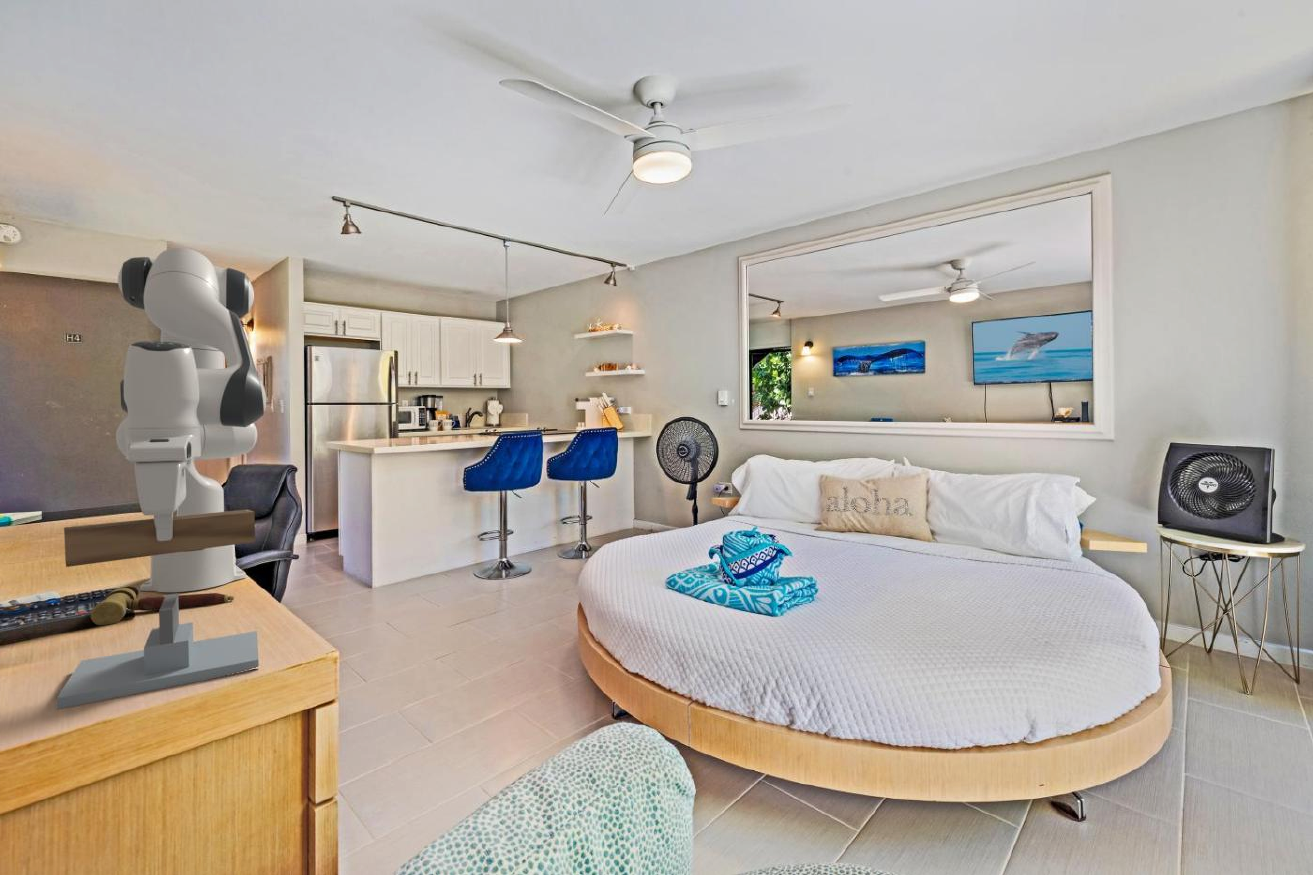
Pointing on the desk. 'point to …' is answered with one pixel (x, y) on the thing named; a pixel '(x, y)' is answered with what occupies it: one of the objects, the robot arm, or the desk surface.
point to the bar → (142, 539)
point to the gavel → (145, 604)
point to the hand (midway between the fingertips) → (167, 536)
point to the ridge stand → (160, 662)
